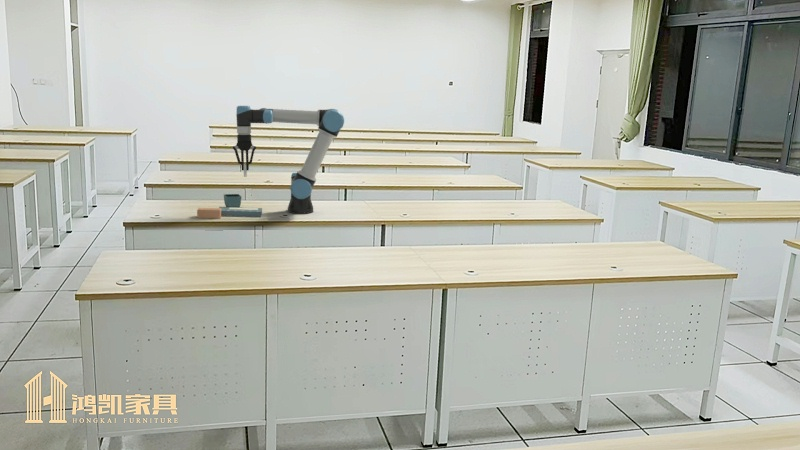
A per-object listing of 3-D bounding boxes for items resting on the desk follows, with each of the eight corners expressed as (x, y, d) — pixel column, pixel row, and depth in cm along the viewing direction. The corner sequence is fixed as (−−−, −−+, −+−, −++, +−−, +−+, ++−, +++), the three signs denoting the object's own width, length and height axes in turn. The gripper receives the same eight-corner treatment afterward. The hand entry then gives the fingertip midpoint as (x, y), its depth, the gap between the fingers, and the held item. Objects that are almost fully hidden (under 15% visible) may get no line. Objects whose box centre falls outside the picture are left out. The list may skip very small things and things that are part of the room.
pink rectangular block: (221, 216, 374) (221, 207, 373) (219, 218, 368) (219, 209, 367) (198, 215, 372) (198, 207, 371) (197, 217, 366) (197, 209, 365)
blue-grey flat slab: (262, 213, 388) (262, 207, 388) (260, 217, 378) (261, 211, 377) (219, 212, 385) (219, 206, 384) (216, 215, 374) (216, 210, 373)
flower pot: (223, 209, 393) (223, 194, 391) (238, 208, 397) (238, 193, 395) (226, 212, 385) (226, 196, 384) (241, 211, 389) (241, 196, 387)
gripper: (256, 133, 377) (257, 175, 382) (232, 133, 375) (233, 175, 380) (255, 134, 370) (257, 177, 375) (231, 134, 367) (233, 177, 372)
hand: (245, 176), depth 377 cm, fingers closed
